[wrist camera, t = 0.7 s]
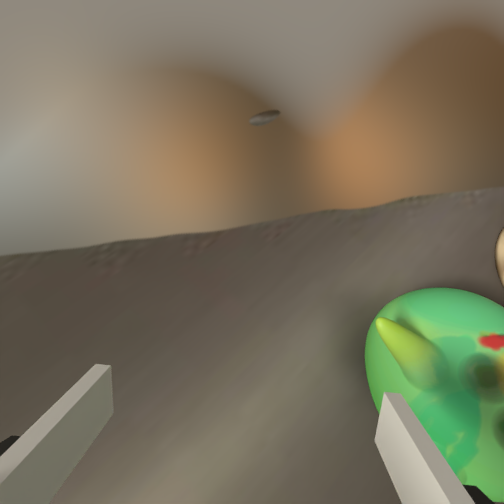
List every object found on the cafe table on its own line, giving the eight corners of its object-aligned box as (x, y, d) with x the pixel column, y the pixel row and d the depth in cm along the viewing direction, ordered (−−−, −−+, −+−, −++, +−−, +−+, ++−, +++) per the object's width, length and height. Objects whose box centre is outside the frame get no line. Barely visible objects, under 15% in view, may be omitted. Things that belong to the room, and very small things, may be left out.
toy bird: (505, 437, 30) (723, 529, 16) (366, 473, 29) (470, 605, 15) (441, 285, 35) (567, 255, 21) (320, 312, 34) (368, 299, 20)
